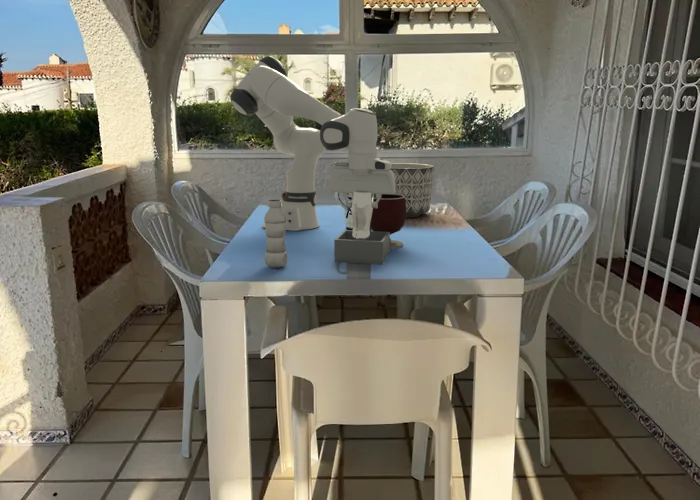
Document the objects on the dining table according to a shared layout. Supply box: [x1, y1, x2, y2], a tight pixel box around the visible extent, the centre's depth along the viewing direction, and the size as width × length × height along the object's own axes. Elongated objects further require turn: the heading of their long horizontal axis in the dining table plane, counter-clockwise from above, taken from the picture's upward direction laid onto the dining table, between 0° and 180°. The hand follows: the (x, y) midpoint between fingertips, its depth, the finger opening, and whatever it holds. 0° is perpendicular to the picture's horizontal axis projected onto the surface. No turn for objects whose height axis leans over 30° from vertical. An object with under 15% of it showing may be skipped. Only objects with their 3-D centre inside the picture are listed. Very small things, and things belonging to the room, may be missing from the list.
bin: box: [333, 229, 391, 265], centre depth 184 cm, size 15×15×7 cm
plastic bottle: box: [263, 198, 289, 269], centre depth 170 cm, size 6×7×20 cm
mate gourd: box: [370, 194, 407, 250], centre depth 199 cm, size 16×14×20 cm
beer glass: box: [350, 191, 374, 240], centre depth 181 cm, size 7×7×15 cm
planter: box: [390, 162, 435, 219], centre depth 258 cm, size 26×26×22 cm
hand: (362, 207), depth 181 cm, fingers closed on beer glass, 7 cm apart
